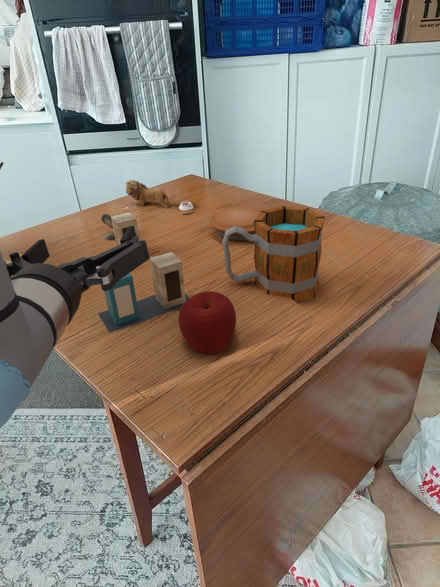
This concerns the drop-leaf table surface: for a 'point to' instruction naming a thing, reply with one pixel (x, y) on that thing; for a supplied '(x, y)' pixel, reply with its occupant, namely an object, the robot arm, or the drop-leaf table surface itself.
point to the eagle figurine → (108, 222)
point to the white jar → (186, 207)
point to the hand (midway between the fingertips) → (88, 241)
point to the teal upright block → (122, 301)
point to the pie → (235, 221)
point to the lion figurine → (146, 193)
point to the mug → (283, 252)
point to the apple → (207, 322)
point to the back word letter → (123, 225)
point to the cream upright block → (168, 280)
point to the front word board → (146, 311)
